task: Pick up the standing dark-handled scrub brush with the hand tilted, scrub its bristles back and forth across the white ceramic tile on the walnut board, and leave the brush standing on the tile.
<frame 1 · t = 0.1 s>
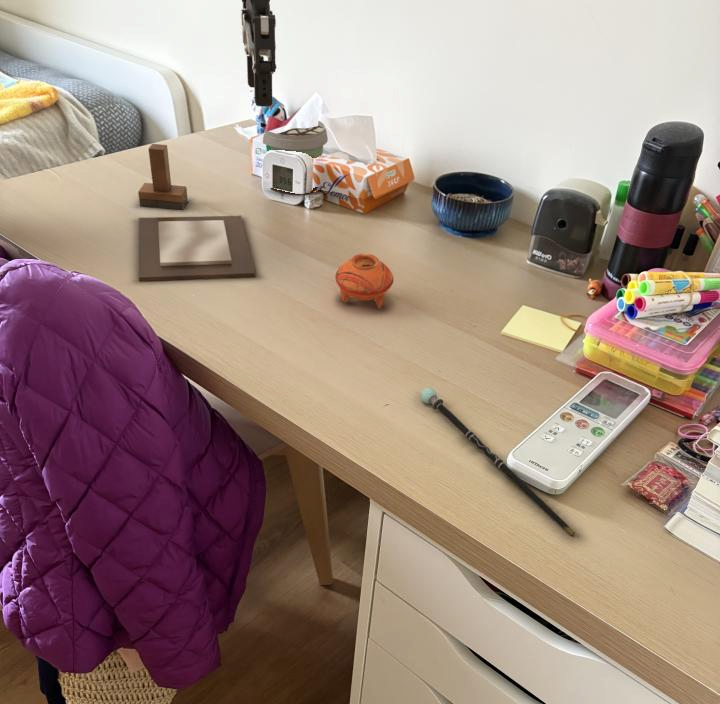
hand: (259, 95, 96), 21 cm above the table, tool pointing down, fingers open, 8 cm apart
scrub brush: (164, 203, 119), on the table
food container: (302, 191, 127), on the table
tile board: (194, 247, 108), on the table
pot: (362, 301, 100), on the table
black stick: (490, 461, 76), on the table
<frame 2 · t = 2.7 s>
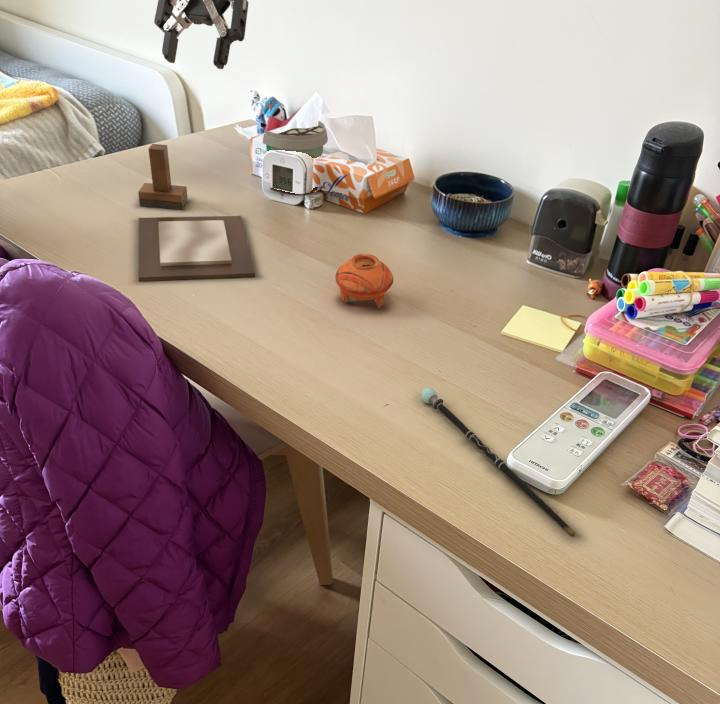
hand: (193, 63, 110), 20 cm above the table, tool tilted 35°, fingers open, 8 cm apart
nothing on the table moved.
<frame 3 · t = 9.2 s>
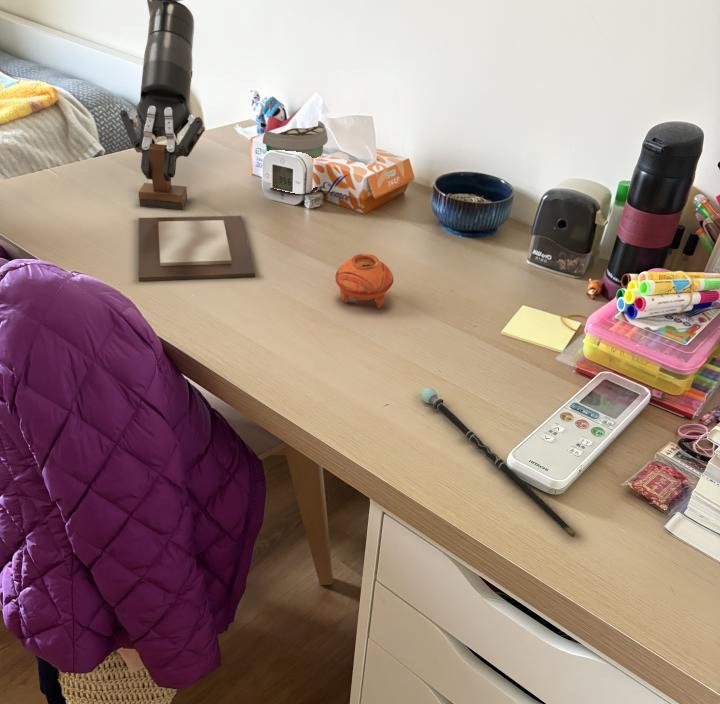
hand: (157, 177, 114), 5 cm above the table, tool tilted 45°, fingers closed on scrub brush, 2 cm apart
scrub brush: (164, 203, 119), on the table, touching gripper
everything else where it was.
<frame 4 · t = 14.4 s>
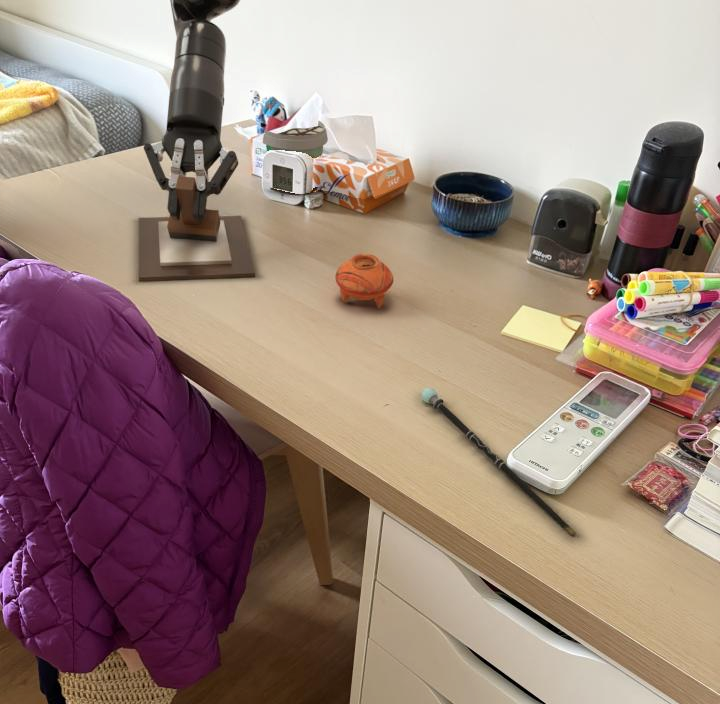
hand: (186, 218, 101), 6 cm above the table, tool tilted 45°, fingers closed on scrub brush, 2 cm apart
scrub brush: (195, 229, 108), point 2 cm above the table, tilted 23°, touching gripper
everything else where it was.
when the fingers open (6 cm above the table, at t = 19.7 s): scrub brush stays where it is, resting on tile board.
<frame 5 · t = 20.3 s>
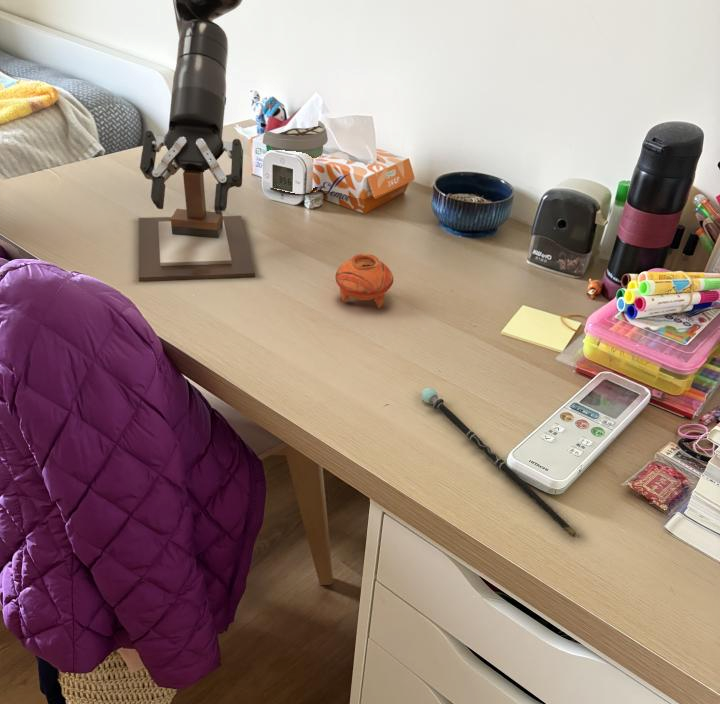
hand: (188, 209, 102), 6 cm above the table, tool tilted 45°, fingers open, 8 cm apart
scrub brush: (198, 230, 109), point 1 cm above the table, touching tile board
everything else where it was.
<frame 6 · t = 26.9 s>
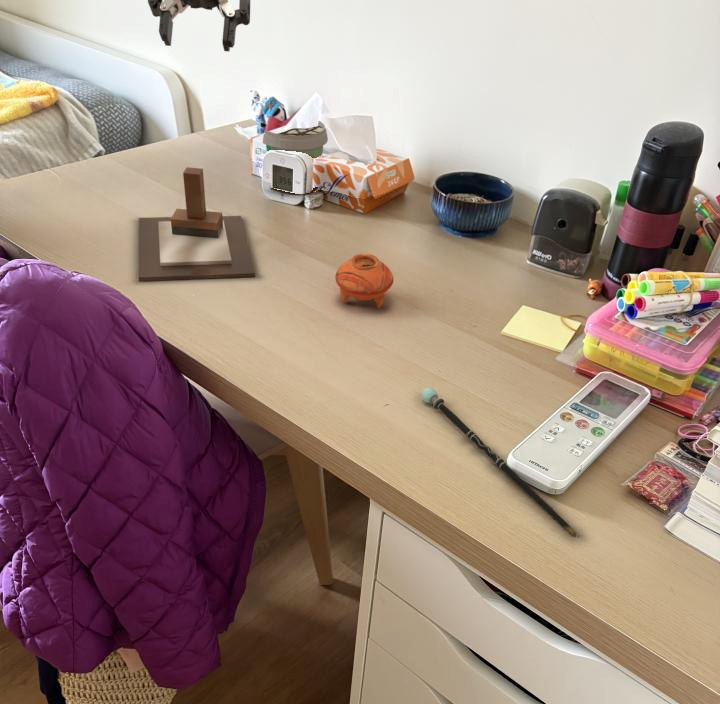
hand: (196, 45, 103), 24 cm above the table, tool tilted 45°, fingers open, 8 cm apart
nothing on the table moved.
at the end: scrub brush inside the target area on the tile board (3.2 cm from its centre), point 1.2 cm above the tile board's base; scrub brush tilted 0°; the gripper is holding nothing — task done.
